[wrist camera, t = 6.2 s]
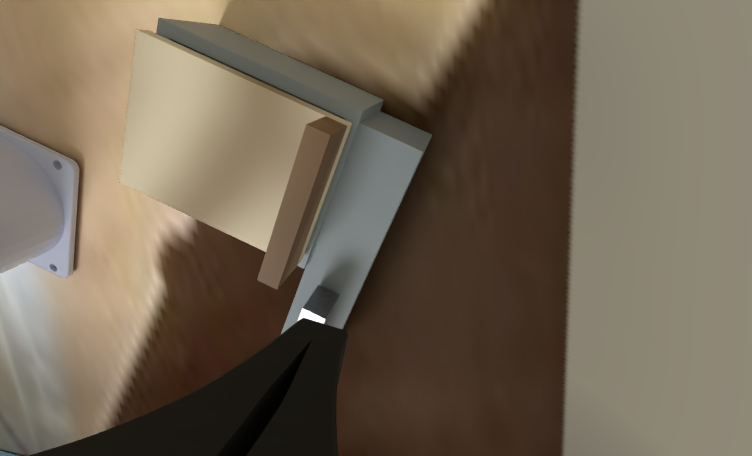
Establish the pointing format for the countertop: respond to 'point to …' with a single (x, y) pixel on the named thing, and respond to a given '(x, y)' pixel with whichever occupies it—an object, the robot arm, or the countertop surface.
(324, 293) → the grey rectangular bar
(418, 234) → the countertop surface
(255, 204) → the lid
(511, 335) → the countertop surface
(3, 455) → the gum box
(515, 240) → the countertop surface
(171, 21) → the box
